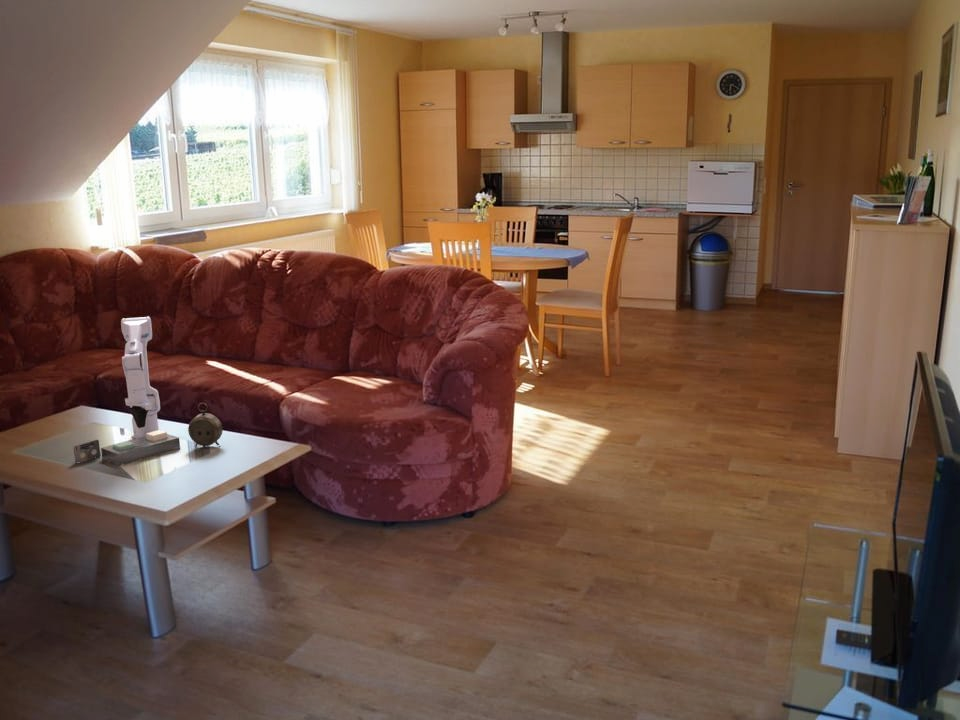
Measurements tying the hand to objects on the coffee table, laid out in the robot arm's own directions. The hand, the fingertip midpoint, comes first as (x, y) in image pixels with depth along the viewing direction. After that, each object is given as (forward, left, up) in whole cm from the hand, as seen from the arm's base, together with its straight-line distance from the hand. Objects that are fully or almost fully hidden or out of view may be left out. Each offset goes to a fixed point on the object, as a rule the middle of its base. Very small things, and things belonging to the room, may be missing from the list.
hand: (141, 427), depth 296 cm
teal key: (0, -7, -8) cm, 11 cm away
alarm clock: (+13, +16, -10) cm, 23 cm away
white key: (0, +5, -7) cm, 9 cm away
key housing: (0, -1, -9) cm, 9 cm away
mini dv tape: (-10, -15, -10) cm, 20 cm away
